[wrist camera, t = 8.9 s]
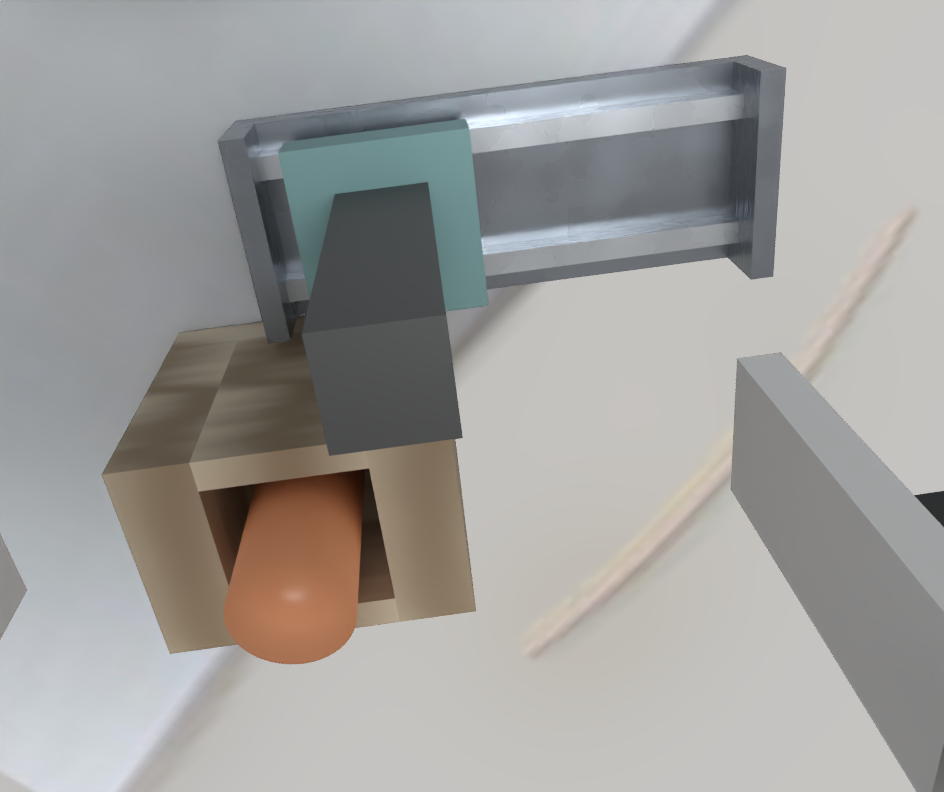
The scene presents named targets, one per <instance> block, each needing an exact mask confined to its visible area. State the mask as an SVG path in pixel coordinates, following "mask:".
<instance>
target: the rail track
mask: <svg viewBox="0 0 944 792" xmlns="http://www.w3.org/2000/svg"><path fill="white" fill-rule="evenodd" d="M785 79H786V68H785V67H782V66H778V65H775V64H772V63H769V62H766V61H763V60H760V59H757V58H754V57H751V56H748V55H745V56H737V57H730V58H722V59H714V60H706V61H699V62H691V63H683V64H675V65H667V66H660V67H652V68H644V69H636V70H629V71H621V72H613V73H605V74H597V75H590V76H582V77H574V78H566V79H559V80H551V81H543V82H535V83H527V84H520V85H512V86H504V87H496V88H489V89H481V90H473V91H465V92H457V93H450V94H442V95H434V96H426V97H419V98H411V99H403V100H395V101H387V102H380V103H372V104H364V105H356V106H349V107H341V108H333V109H325V110H317V111H310V112H302V113H294V114H286V115H279V116H271V117H263V118H255V119H247V120H240V121H235V122H234V124H233V125H232V126H231V127H230V128H229V129H228V130H227V132H226V133H225V134H224V135H223V136H222V137H221V138H220V139H219V141H218V144H219V148H220V152H221V156H222V160H223V164H224V168H225V172H226V176H227V180H228V184H229V188H230V192H231V197H232V201H233V205H234V209H235V213H236V217H237V221H238V225H239V229H240V233H241V237H242V241H243V245H244V249H245V253H246V257H247V261H248V265H249V269H250V273H251V277H252V281H253V285H254V289H255V293H256V297H257V302H258V306H259V310H260V314H261V318H262V322H263V326H264V330H265V334H266V338H267V342H268V344H270V343H278V342H285V341H291V338H292V334H293V330H294V326H295V322H296V318H297V315H298V314H304V313H307V309H308V305H309V301H310V299H309V294H308V290H307V285H306V281H305V276H304V271H303V267H302V262H301V257H300V253H299V248H298V244H297V239H296V234H295V230H294V225H293V220H292V216H291V211H290V206H289V202H288V197H287V193H286V188H285V183H284V179H283V174H282V169H281V165H280V160H279V156H278V152H279V150H280V148H281V146H282V144H283V143H284V142H288V141H296V140H304V139H312V138H319V137H327V136H335V135H343V134H350V133H358V132H366V131H373V130H381V129H389V128H397V127H404V126H412V125H420V124H428V123H435V122H443V121H451V120H459V119H466V121H467V124H468V126H469V131H470V140H471V149H472V158H473V168H474V177H475V186H476V195H477V204H478V214H479V223H480V232H481V241H482V251H483V260H484V269H485V278H486V288H487V289H492V288H500V287H508V286H515V285H523V284H530V283H538V282H545V281H553V280H560V279H568V278H575V277H583V276H590V275H598V274H605V273H613V272H620V271H628V270H636V269H643V268H651V267H658V266H666V265H673V264H680V263H687V262H695V261H703V260H711V259H718V258H726V257H728V258H729V259H730V260H731V261H732V262H733V263H734V264H735V265H736V266H737V267H738V268H739V269H740V270H742V271H743V272H744V273H745V274H746V275H747V276H748V277H749V278H750V279H758V278H765V277H773V269H774V254H775V237H776V222H777V206H778V189H779V174H780V157H781V141H782V127H783V111H784V95H785Z"/></svg>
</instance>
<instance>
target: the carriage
mask: <svg viewBox="0 0 944 792" xmlns="http://www.w3.org/2000/svg"><path fill="white" fill-rule="evenodd" d="M278 156H279V160H280V165H281V169H282V174H283V179H284V183H285V188H286V193H287V197H288V202H289V206H290V211H291V216H292V220H293V225H294V230H295V234H296V239H297V244H298V248H299V253H300V257H301V262H302V267H303V271H304V276H305V281H306V285H307V290H308V294H309V299H310V301H309V305H308V309H307V313H306V317H305V322H304V326H303V330H302V338H303V342H304V347H305V351H306V356H307V360H308V365H309V369H310V373H311V378H312V382H313V387H314V391H315V396H316V400H317V405H318V409H319V413H320V418H321V422H322V427H323V431H324V436H325V440H326V444H327V449H328V453H329V456H333V455H340V454H348V453H355V452H362V451H370V450H377V449H384V448H392V447H399V446H407V445H414V444H421V443H429V442H436V441H443V440H451V439H458V438H462V430H461V423H460V415H459V408H458V401H457V393H456V385H455V378H454V371H453V363H452V356H451V348H450V341H449V334H448V326H447V319H446V311H451V310H459V309H466V308H474V307H481V306H488V297H487V288H486V278H485V269H484V260H483V251H482V241H481V232H480V223H479V214H478V204H477V195H476V186H475V177H474V168H473V158H472V149H471V140H470V131H469V126H468V124H467V121H466V119H459V120H451V121H443V122H435V123H428V124H420V125H412V126H404V127H397V128H389V129H381V130H373V131H366V132H358V133H350V134H343V135H335V136H327V137H319V138H312V139H304V140H296V141H288V142H284V143H283V144H282V146H281V148H280V150H279V152H278Z"/></svg>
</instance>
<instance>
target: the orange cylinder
mask: <svg viewBox="0 0 944 792" xmlns="http://www.w3.org/2000/svg"><path fill="white" fill-rule="evenodd" d="M364 483H365V469H360V470H353V471H346V472H338V473H331V474H324V475H316V476H309V477H302V478H294V479H287V480H280V481H272V482H265V483H258V484H255V488H254V492H253V496H252V499H251V503H250V507H249V511H248V515H247V519H246V523H245V527H244V531H243V534H242V538H241V542H240V546H239V550H238V554H237V558H236V562H235V566H234V569H233V573H232V577H231V581H230V585H229V589H228V593H227V597H226V601H225V605H224V621H225V625H226V627H227V630H228V632H229V633H230V635H231V637H232V638H233V639H234V640H235V642H236V643H237V644H238V645H239V646H241V647H242V648H243V649H244V650H246V651H247V652H249V653H250V654H252V655H254V656H256V657H259V658H261V659H264V660H267V661H270V662H275V663H281V664H303V663H308V662H313V661H317V660H320V659H323V658H325V657H327V656H329V655H331V654H333V653H334V652H336V651H337V650H339V649H340V648H341V647H342V646H343V645H344V644H345V643H346V642H347V641H348V640H349V638H350V637H351V635H352V633H353V631H354V629H355V626H356V621H357V606H358V589H359V571H360V554H361V536H362V518H363V501H364Z"/></svg>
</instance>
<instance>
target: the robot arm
mask: <svg viewBox="0 0 944 792" xmlns="http://www.w3.org/2000/svg"><path fill="white" fill-rule="evenodd" d="M731 491H732V492H733V494H734V495H735V497H736V499H737V500H738V502H739V504H740V505H741V507H742V508H743V510H744V512H745V513H746V514H747V517H748V518H749V520H750V521H751V523H752V525H753V526H754V528H755V530H756V531H757V533H758V534H759V536H760V538H761V539H762V541H763V543H764V544H765V546H766V547H767V549H768V551H769V552H770V554H771V555H772V557H773V559H774V560H775V562H776V564H777V565H778V567H779V569H780V570H781V572H782V573H783V575H784V577H785V578H786V580H787V582H788V583H789V585H790V587H791V588H792V590H793V591H794V593H795V594H796V596H797V598H798V600H799V601H800V603H801V604H802V606H803V608H804V609H805V611H806V613H807V614H808V616H809V617H810V619H811V621H812V622H813V624H814V626H815V627H816V629H817V631H818V632H819V634H820V635H821V637H822V639H823V640H824V642H825V643H826V645H827V647H828V648H829V650H830V652H831V653H832V655H833V657H834V658H835V660H836V661H837V663H838V665H839V666H840V668H841V669H842V671H843V673H844V675H845V676H846V678H847V679H848V681H849V683H850V684H851V686H852V688H853V689H854V691H855V692H856V694H857V696H858V697H859V699H860V701H861V702H862V704H863V705H864V707H865V709H866V710H867V712H868V714H869V715H870V717H871V718H872V720H873V721H874V723H875V725H876V727H877V728H878V729H879V731H880V733H881V735H882V736H883V738H884V739H885V741H886V743H887V745H888V746H889V748H890V749H891V751H892V753H893V754H894V756H895V758H896V759H897V761H898V762H899V764H900V766H901V767H902V769H903V771H904V772H905V774H906V775H907V777H908V779H909V780H910V782H911V784H912V785H913V787H914V788H915V790H916V792H944V491H941V492H934V493H927V494H920V495H913V494H912V493H911V492H910V491H909V489H908V488H906V486H905V485H904V484H903V483H902V482H901V481H900V480H899V479H898V478H897V477H896V475H895V474H894V473H893V472H892V471H891V470H890V469H889V468H888V467H887V466H886V465H885V464H884V463H883V462H882V461H881V459H880V458H879V457H878V456H877V455H876V454H875V453H874V452H873V451H872V450H871V449H870V448H869V446H868V445H867V444H866V443H865V442H864V441H863V440H862V439H861V438H860V437H859V436H858V435H857V434H856V432H855V431H854V430H853V429H851V427H850V426H849V425H848V424H847V423H846V422H845V421H844V420H843V418H842V417H841V416H840V415H839V414H838V413H837V412H836V411H835V410H834V409H833V408H832V407H831V406H830V405H829V403H828V402H827V401H826V400H825V399H824V398H823V397H822V396H821V395H820V394H819V393H818V392H817V391H816V389H815V388H814V387H813V386H812V385H811V384H810V383H809V382H808V381H807V380H806V379H805V378H804V377H803V375H802V374H801V373H800V372H799V371H798V370H797V369H796V368H795V367H794V366H793V365H792V364H791V363H790V362H789V360H788V359H787V358H786V357H785V356H784V355H783V354H782V353H781V352H780V353H773V354H766V355H759V356H752V357H745V358H738V359H737V374H736V393H735V414H734V434H733V454H732V474H731ZM26 591H27V589H26V586H25V584H24V582H23V580H22V578H21V576H20V574H19V572H18V570H17V568H16V566H15V564H14V561H13V559H12V557H11V555H10V553H9V551H8V549H7V547H6V545H5V543H4V541H3V539H2V537H1V534H0V639H1V637H2V635H3V633H4V632H5V630H6V628H7V626H8V624H9V622H10V621H11V619H12V617H13V615H14V613H15V611H16V609H17V608H18V606H19V604H20V602H21V600H22V598H23V596H24V595H25V593H26Z"/></svg>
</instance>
